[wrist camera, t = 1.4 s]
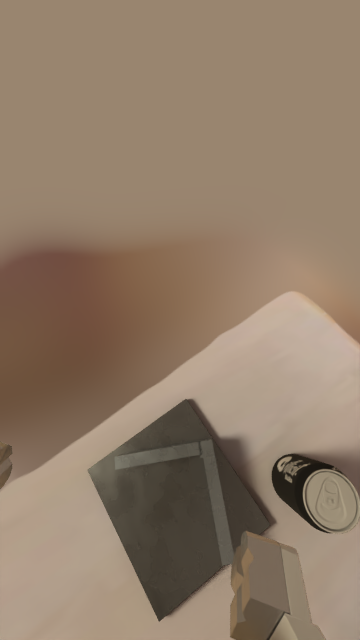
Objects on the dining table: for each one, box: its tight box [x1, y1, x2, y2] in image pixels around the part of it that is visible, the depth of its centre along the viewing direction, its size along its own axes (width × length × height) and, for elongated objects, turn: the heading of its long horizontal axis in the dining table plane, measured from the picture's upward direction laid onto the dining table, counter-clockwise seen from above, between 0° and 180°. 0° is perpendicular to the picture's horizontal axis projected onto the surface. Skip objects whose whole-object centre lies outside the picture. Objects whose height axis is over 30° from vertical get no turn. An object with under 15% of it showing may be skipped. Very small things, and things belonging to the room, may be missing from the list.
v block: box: [88, 399, 270, 621], centre depth 36 cm, size 18×20×5 cm
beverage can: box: [272, 454, 360, 534], centre depth 33 cm, size 7×7×12 cm
